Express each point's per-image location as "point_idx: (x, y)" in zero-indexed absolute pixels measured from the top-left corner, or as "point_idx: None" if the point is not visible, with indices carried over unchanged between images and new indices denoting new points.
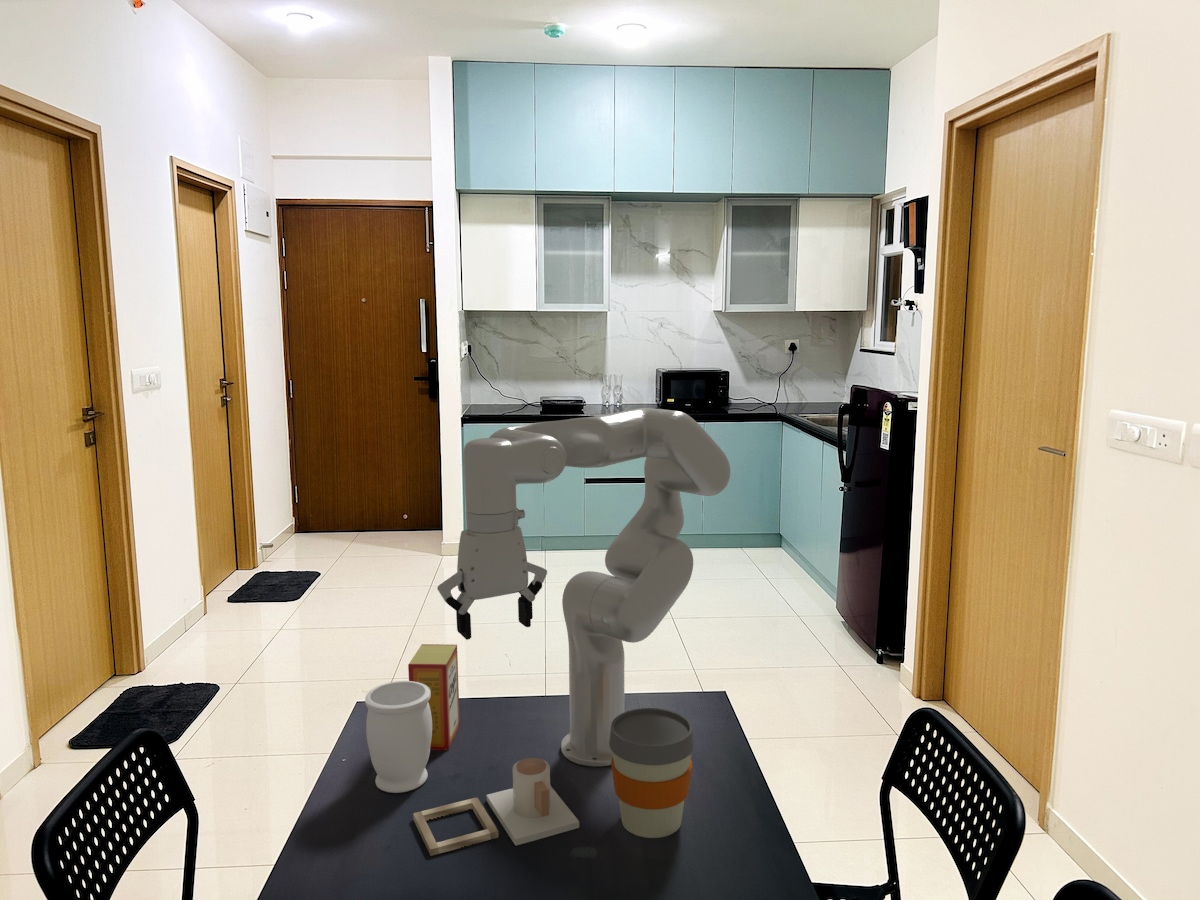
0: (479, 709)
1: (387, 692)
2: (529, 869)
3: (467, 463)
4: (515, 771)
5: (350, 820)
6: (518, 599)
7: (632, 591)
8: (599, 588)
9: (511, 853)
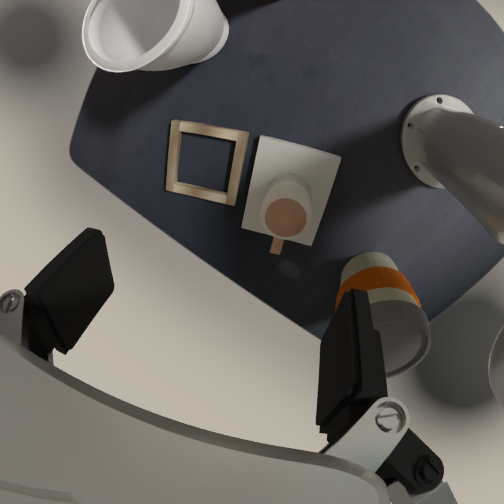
0: None
1: None
2: (235, 256)
3: None
4: (262, 211)
5: (124, 87)
6: (350, 386)
7: None
8: None
9: (233, 230)
